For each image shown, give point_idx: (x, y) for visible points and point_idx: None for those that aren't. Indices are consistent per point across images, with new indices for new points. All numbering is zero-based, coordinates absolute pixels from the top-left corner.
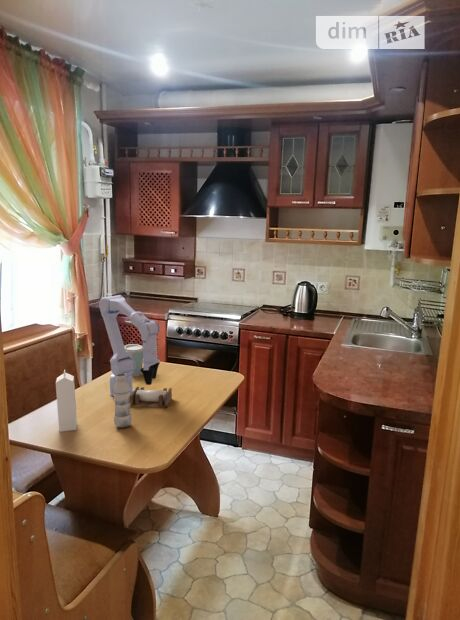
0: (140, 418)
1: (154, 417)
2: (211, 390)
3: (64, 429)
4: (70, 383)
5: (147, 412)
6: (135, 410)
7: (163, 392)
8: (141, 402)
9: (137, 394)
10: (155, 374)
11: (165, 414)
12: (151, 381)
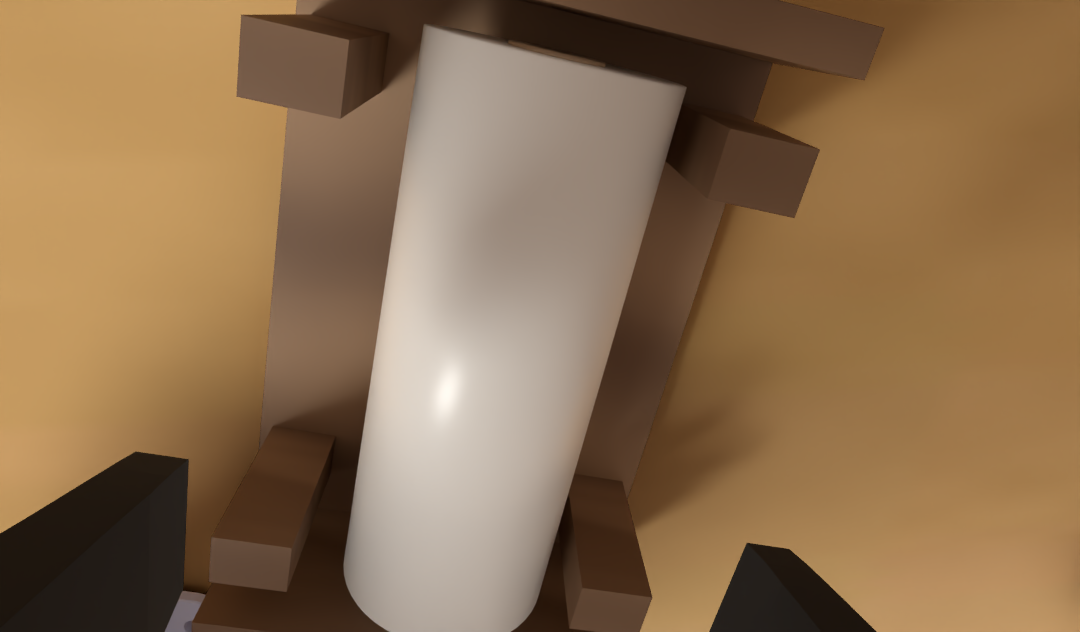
0: (1025, 409)
1: (1076, 226)
2: None
3: None
4: None
5: (855, 334)
6: (736, 487)
7: (629, 111)
8: None
9: (601, 608)
10: (95, 562)
11: (1036, 48)
12: (858, 619)
